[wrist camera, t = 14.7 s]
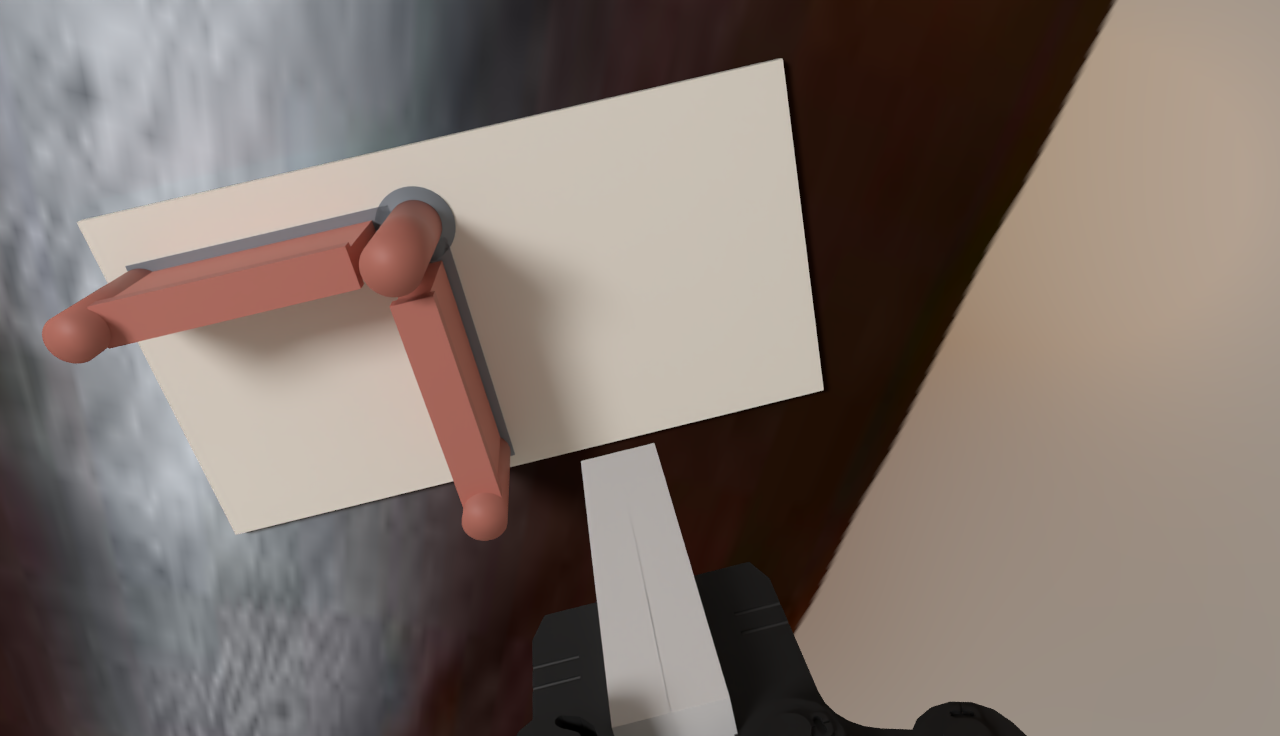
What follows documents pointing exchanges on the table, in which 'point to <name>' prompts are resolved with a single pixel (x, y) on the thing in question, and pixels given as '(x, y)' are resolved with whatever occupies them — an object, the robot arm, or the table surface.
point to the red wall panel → (456, 401)
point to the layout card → (500, 293)
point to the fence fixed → (249, 283)
